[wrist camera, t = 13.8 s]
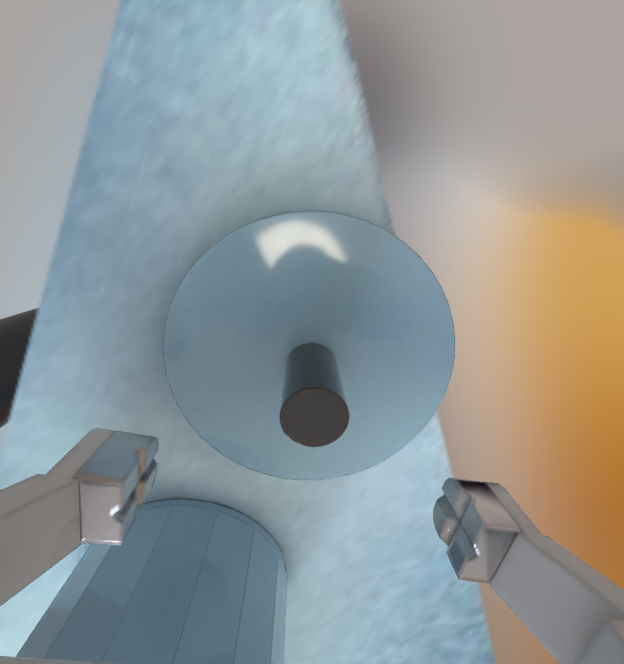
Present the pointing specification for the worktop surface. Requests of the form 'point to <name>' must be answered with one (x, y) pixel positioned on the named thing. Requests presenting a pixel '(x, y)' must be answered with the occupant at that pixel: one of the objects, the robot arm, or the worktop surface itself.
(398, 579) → the worktop surface
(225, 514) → the pot
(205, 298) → the pot lid
